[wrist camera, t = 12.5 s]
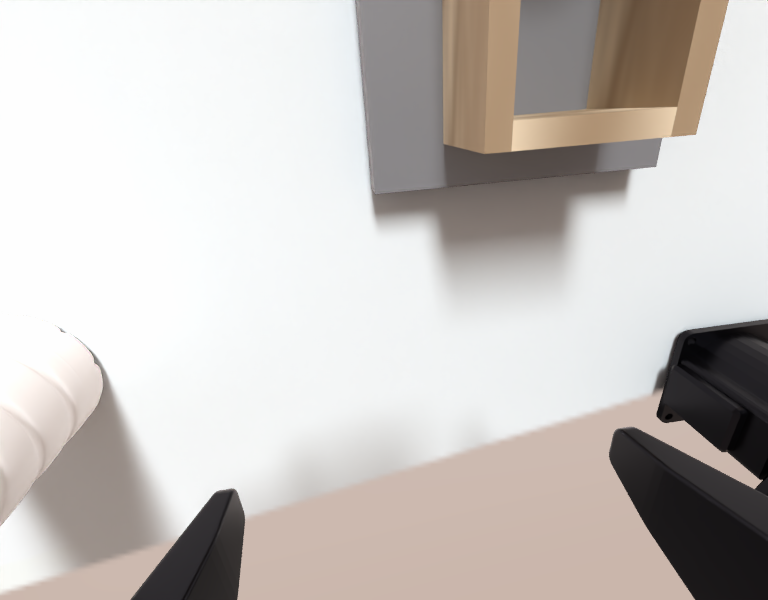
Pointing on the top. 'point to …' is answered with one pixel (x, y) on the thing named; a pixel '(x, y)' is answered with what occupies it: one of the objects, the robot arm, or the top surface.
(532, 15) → the grey plate with ball
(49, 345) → the water bottle
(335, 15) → the top surface
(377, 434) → the top surface
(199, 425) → the top surface
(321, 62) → the top surface
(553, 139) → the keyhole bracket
